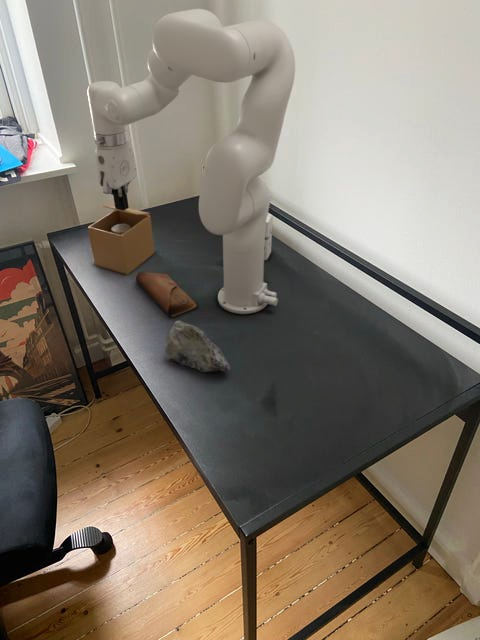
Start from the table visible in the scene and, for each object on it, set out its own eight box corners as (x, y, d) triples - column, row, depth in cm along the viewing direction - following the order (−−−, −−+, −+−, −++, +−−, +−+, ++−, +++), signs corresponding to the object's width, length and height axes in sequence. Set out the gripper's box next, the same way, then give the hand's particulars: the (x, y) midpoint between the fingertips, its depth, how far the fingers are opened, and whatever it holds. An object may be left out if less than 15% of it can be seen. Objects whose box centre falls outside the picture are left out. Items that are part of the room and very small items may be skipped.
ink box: (237, 256, 144) (236, 217, 137) (242, 248, 148) (242, 209, 141) (267, 261, 142) (268, 221, 135) (271, 252, 146) (273, 214, 139)
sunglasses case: (200, 305, 125) (186, 289, 120) (179, 325, 124) (164, 311, 119) (164, 272, 137) (150, 257, 132) (145, 291, 136) (130, 276, 131)
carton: (123, 244, 150) (117, 207, 143) (154, 252, 146) (150, 215, 139) (95, 264, 141) (87, 227, 134) (127, 274, 137) (121, 236, 130)
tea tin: (138, 255, 144) (134, 226, 139) (127, 263, 141) (122, 234, 135) (123, 251, 146) (119, 222, 140) (112, 259, 142) (107, 230, 137)
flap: (117, 206, 143) (117, 205, 142) (149, 214, 139) (150, 213, 139) (102, 206, 137) (102, 205, 137) (135, 214, 133) (136, 213, 133)
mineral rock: (233, 377, 106) (232, 339, 100) (184, 393, 102) (180, 355, 96) (208, 340, 115) (206, 304, 109) (162, 355, 111) (157, 317, 105)
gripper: (103, 150, 118) (115, 223, 129) (142, 131, 129) (150, 200, 140) (78, 145, 121) (92, 216, 132) (118, 127, 131) (127, 195, 143)
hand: (122, 208), depth 136 cm, fingers closed
